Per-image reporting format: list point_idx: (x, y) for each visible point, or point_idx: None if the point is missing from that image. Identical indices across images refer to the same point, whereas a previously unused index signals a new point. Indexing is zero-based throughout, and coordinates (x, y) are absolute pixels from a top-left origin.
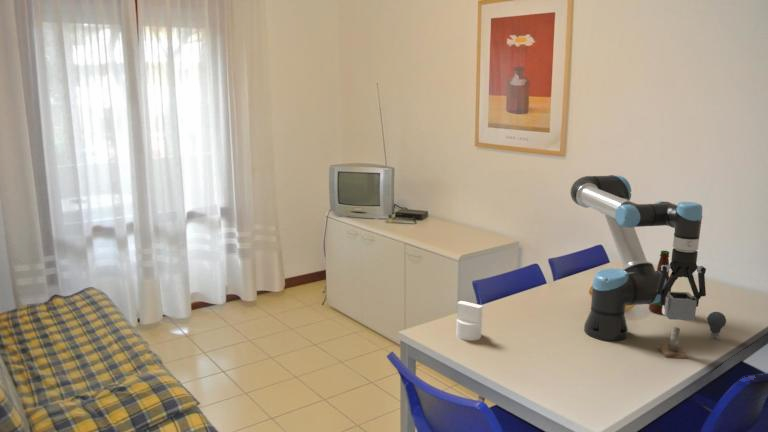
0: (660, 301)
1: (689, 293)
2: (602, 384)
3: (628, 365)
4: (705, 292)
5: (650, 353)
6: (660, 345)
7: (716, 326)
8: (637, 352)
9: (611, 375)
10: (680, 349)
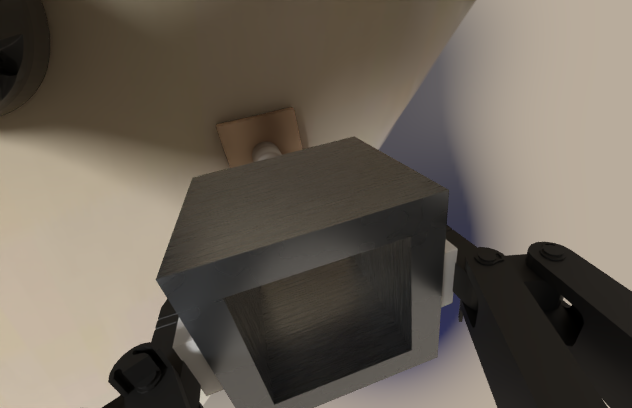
0: (162, 321)
1: (444, 228)
2: (97, 399)
3: (135, 291)
4: (568, 318)
5: (189, 182)
6: (220, 128)
7: None
8: (142, 191)
9: (104, 358)
10: (291, 141)
